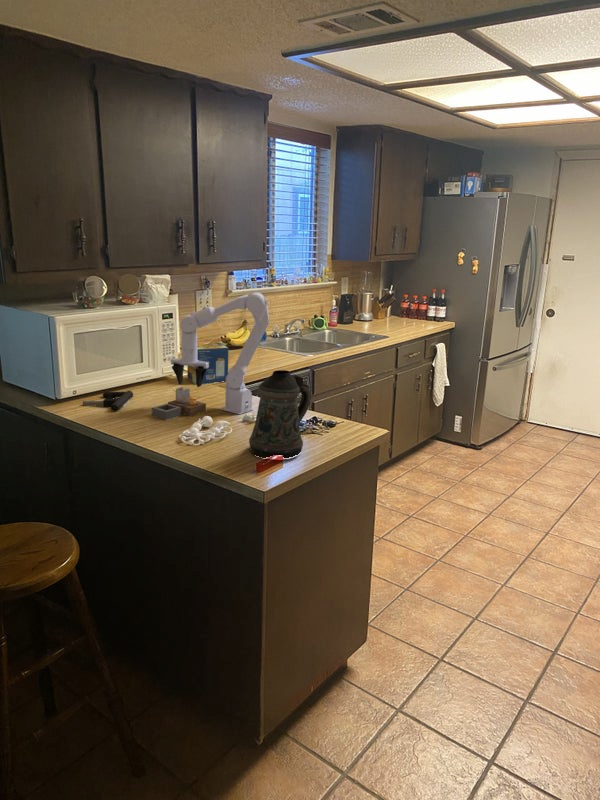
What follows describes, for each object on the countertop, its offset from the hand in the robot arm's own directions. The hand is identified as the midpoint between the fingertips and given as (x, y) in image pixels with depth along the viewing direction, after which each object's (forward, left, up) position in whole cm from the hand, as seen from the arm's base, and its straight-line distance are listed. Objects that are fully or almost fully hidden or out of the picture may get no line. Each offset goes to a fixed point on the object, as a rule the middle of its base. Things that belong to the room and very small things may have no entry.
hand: (189, 385), depth 222 cm
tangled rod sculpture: (-26, +18, -9) cm, 33 cm away
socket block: (-2, +3, -9) cm, 10 cm away
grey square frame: (-1, +12, -9) cm, 15 cm away
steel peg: (0, +3, -9) cm, 9 cm away
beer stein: (-51, +13, -9) cm, 53 cm away
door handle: (+26, +16, -9) cm, 32 cm away
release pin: (-5, +3, -6) cm, 9 cm away
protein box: (+23, -35, -9) cm, 43 cm away
